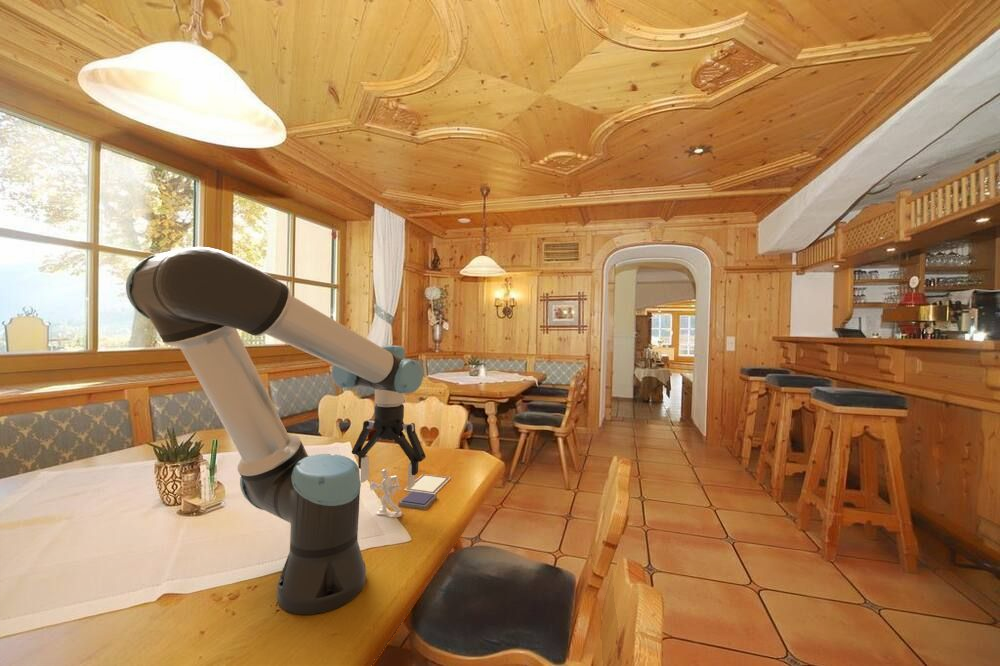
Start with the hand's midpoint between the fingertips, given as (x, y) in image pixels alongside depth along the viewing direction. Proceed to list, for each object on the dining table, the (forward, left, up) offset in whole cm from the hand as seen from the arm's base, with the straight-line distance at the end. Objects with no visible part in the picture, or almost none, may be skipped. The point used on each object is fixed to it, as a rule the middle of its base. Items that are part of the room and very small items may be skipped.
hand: (387, 483), depth 105 cm
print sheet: (+22, -2, -8) cm, 24 cm away
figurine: (0, 0, -8) cm, 8 cm away
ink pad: (+9, -5, -8) cm, 13 cm away
